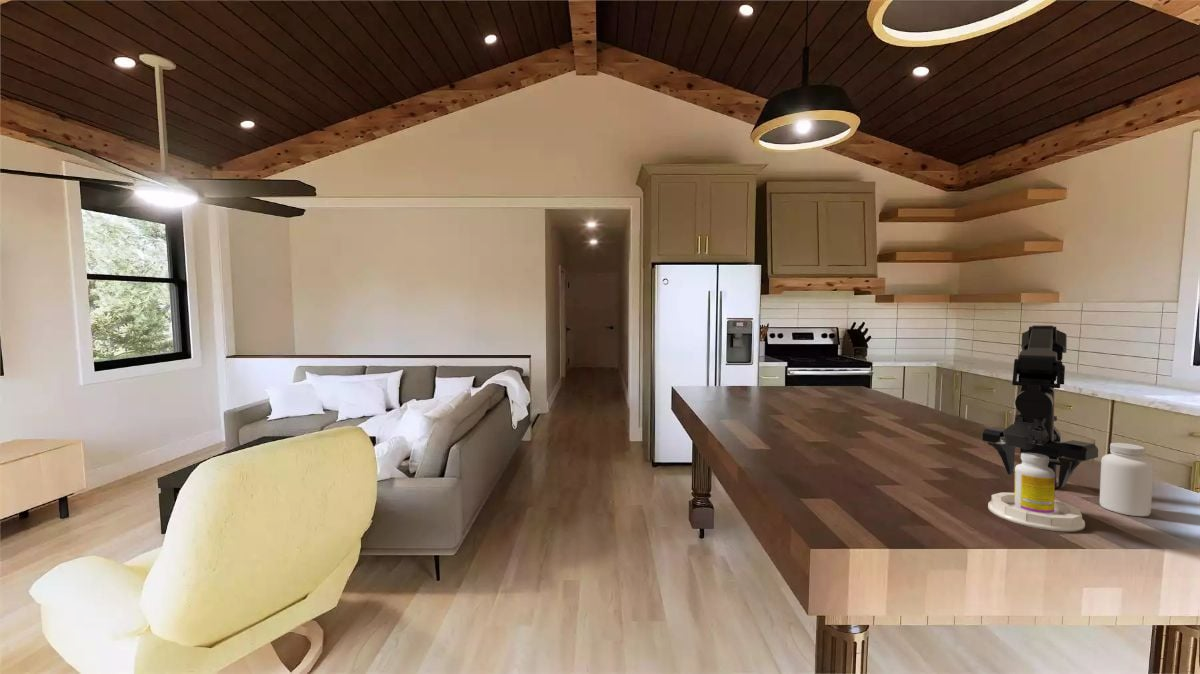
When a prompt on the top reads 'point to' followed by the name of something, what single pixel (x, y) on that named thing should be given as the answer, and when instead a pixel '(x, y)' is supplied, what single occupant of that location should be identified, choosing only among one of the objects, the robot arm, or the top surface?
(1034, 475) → the supplement bottle
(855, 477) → the top surface
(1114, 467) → the pill bottle
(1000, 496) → the tray
